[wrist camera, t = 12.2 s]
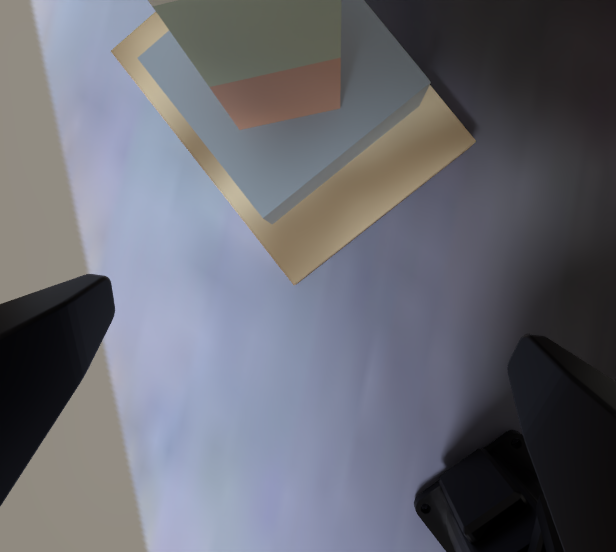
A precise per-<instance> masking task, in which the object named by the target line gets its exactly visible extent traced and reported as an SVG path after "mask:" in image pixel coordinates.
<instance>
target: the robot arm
mask: <svg viewBox="0 0 616 552" xmlns="http://www.w3.org/2000/svg"><path fill="white" fill-rule="evenodd" d="M114 313H115V305H114V298H113V292H112V285H111V281H110V279H109V278H108V277H107V276H102V275H94V274H86V275H83V276H80V277H77V278H75V279H72V280H69V281H66V282H63V283H60V284H57V285H54V286H51V287H48V288H46V289H43V290H40V291H37V292H34V293H31V294H28V295H25V296H23V297H20V298H17V299H14V300H11V301H8V302H5V303H3V304H0V506H1V505H2V503H3V501H4V500H5V498H6V497H7V495H8V494H9V492H10V491H11V489H12V487H13V486H14V485H15V483H16V481H17V480H18V478H19V477H20V475H21V474H22V472H23V470H24V469H25V468H26V466H27V464H28V463H29V461H30V460H31V458H32V456H33V455H34V454H35V452H36V450H37V449H38V447H39V446H40V444H41V443H42V441H43V439H44V438H45V437H46V435H47V433H48V432H49V430H50V429H51V427H52V426H53V424H54V423H55V421H56V420H57V418H58V416H59V415H60V413H61V412H62V410H63V409H64V407H65V406H66V404H67V402H68V401H69V399H70V398H71V396H72V395H73V393H74V392H75V390H76V389H77V387H78V385H79V384H80V382H81V381H82V379H83V377H84V375H85V374H86V372H87V370H88V368H89V366H90V364H91V362H92V360H93V358H94V356H95V354H96V352H97V350H98V348H99V346H100V344H101V342H102V340H103V338H104V336H105V334H106V332H107V330H108V328H109V326H110V324H111V322H112V320H113V317H114ZM508 376H509V380H510V384H511V388H512V393H513V397H514V401H515V405H516V409H517V413H518V418H519V422H520V426H521V429H522V433H523V435H522V434H521V433H519V432H518V431H515V430H510V431H508V432H506V433H504V434H503V435H502V436H500V437H499V438H497V439H496V440H495V441H493V442H492V443H491V444H489V445H488V446H486V447H485V448H484V449H477V450H476V451H475V452H473V453H472V454H471V455H469V456H468V457H466V458H465V459H464V460H462V461H461V462H459V463H458V464H457V465H455V466H454V467H453V468H451V469H450V470H448V471H447V472H446V473H444V474H443V475H441V476H440V480H439V481H438V482H436V483H435V484H434V485H432V486H431V487H430V488H428V489H427V490H425V491H424V492H423V493H421V494H420V495H418V496H417V497H416V498H415V501H414V507H415V510H416V512H417V514H418V516H419V517H420V518H421V519H422V521H423V522H424V523H425V525H426V526H427V527H428V529H429V530H430V531H431V532H432V534H433V535H434V536H435V538H436V539H437V540H438V541H439V543H440V544H441V545H442V547H443V548H444V549H445V550H446V552H616V382H615V381H613V380H612V379H610V378H609V377H607V376H606V375H604V374H603V373H601V372H599V371H598V370H596V369H595V368H593V367H592V366H590V365H589V364H587V363H585V362H584V361H582V360H581V359H579V358H578V357H576V356H575V355H573V354H572V353H570V352H568V351H567V350H565V349H564V348H562V347H561V346H559V345H558V344H556V343H554V342H553V341H551V340H550V339H548V338H547V337H544V336H538V335H530V334H527V335H524V336H523V337H522V338H521V339H520V341H519V343H518V345H517V347H516V349H515V351H514V352H513V354H512V356H511V358H510V360H509V363H508ZM515 438H518V443H517V444H515V445H511V441H512V440H513V439H515ZM422 504H428V505H429V506H428V508H426V509H422V508H421V506H422Z"/></svg>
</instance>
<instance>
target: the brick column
mask: <svg viewBox="0 0 616 552" xmlns="http://www.w3.org/2000/svg"><path fill="white" fill-rule="evenodd" d="M148 1H149V2H150V4H151V5H152V7H153V8H154V9H155V11H156V12H157V14H158V15H159V16H160V18H161V19H162V21H163V22H164V24H165V25H166V26H167V28H168V29H169V31H170V32H171V33H172V35H173V36H174V38H175V39H176V41H177V42H178V43H179V45H180V46H181V48H182V49H183V51H184V52H185V53H186V55H187V56H188V58H189V59H190V60H191V62H192V63H193V65H194V66H195V68H196V69H197V70H198V72H199V73H200V75H201V76H202V77H203V79H204V80H205V82H206V83H207V85H208V86H209V87H210V89H211V90H212V92H213V93H214V94H215V96H216V97H217V99H218V100H219V102H220V103H221V104H222V106H223V107H224V109H225V110H226V112H227V113H228V114H229V116H230V117H231V119H232V120H233V121H234V123H235V124H236V126H237V127H238V129H239V130H242V129H247V128H252V127H256V126H261V125H266V124H270V123H275V122H280V121H284V120H289V119H294V118H298V117H303V116H308V115H312V114H317V113H322V112H326V111H331V110H336V109H340V91H341V0H148Z"/></svg>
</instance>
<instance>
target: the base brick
mask: <svg viewBox="0 0 616 552" xmlns="http://www.w3.org/2000/svg"><path fill="white" fill-rule="evenodd" d="M138 60H139V61H140V62H141V64H142V65H143V66H144V67H145V69H146V70H147V71H148V73H149V74H150V75H151V76H152V78H153V79H154V80H155V81H156V83H157V84H158V85H159V87H160V88H161V89H162V90H163V92H164V93H165V94H166V95H167V97H168V98H169V99H170V101H171V102H172V103H173V104H174V106H175V107H176V108H177V109H178V111H179V112H180V113H181V115H182V116H183V117H184V118H185V120H186V121H187V122H188V124H189V125H190V126H191V127H192V129H193V130H194V131H195V132H196V134H197V135H198V136H199V138H200V139H201V140H202V141H203V143H204V144H205V145H206V146H207V148H208V149H209V150H210V152H211V153H212V154H213V155H214V157H215V158H216V159H217V160H218V162H219V163H220V164H221V166H222V167H223V168H224V169H225V171H226V172H227V173H228V175H229V176H230V177H231V178H232V180H233V181H234V182H235V183H236V185H237V186H238V187H239V189H240V190H241V191H242V192H243V194H244V195H245V196H246V197H247V199H248V200H249V201H250V203H251V204H252V205H253V206H254V208H255V209H256V210H257V211H258V213H259V214H260V215H261V217H262V218H263V219H265V220H266V221H268V222H269V223H270V224H274V223H275V222H276V221H277V220H279V219H280V218H281V217H282V216H284V215H285V214H286V213H287V212H288V211H290V210H291V209H292V208H293V207H295V206H296V205H297V204H298V203H300V202H301V201H302V200H303V199H305V198H306V197H307V196H308V195H310V194H311V193H312V192H313V191H315V190H316V189H317V188H318V187H319V186H321V185H322V184H323V183H324V182H326V181H327V180H328V179H329V178H331V177H332V176H333V175H334V174H336V173H337V172H338V171H339V170H341V169H342V168H343V167H344V166H346V165H347V164H348V163H349V162H350V161H352V160H353V159H354V158H355V157H357V156H358V155H359V154H360V153H362V152H363V151H364V150H365V149H367V148H368V147H369V146H370V145H372V144H373V143H374V142H375V141H377V140H378V139H379V138H380V137H381V136H383V135H384V134H385V133H386V132H388V131H389V130H390V129H391V128H393V127H394V126H395V125H396V124H398V123H399V122H400V121H401V120H403V119H404V118H405V117H406V116H408V115H409V114H410V113H411V112H412V111H414V110H415V109H416V108H417V107H419V106H420V103H421V101H422V99H423V97H424V95H425V93H426V91H427V89H428V87H429V85H430V83H431V81H430V80H429V79H428V78H427V77H426V75H425V74H424V73H423V72H422V70H421V69H420V68H419V67H418V65H417V64H416V63H415V62H414V61H413V59H412V58H411V57H410V56H409V54H408V53H407V52H406V51H405V50H404V48H403V47H402V46H401V45H400V43H399V42H398V41H397V40H396V39H395V37H394V36H393V35H392V34H391V32H390V31H389V30H388V29H387V28H386V26H385V25H384V24H383V23H382V21H381V20H380V19H379V18H378V17H377V15H376V14H375V13H374V12H373V10H372V9H371V8H370V7H369V6H368V4H367V3H366V2H365V1H364V0H341V91H340V109H336V110H331V111H326V112H322V113H317V114H312V115H308V116H303V117H298V118H294V119H289V120H284V121H280V122H275V123H270V124H266V125H261V126H256V127H252V128H247V129H242V130H239V129H238V127H237V126H236V124H235V123H234V121H233V120H232V119H231V117H230V116H229V114H228V113H227V112H226V110H225V109H224V107H223V106H222V104H221V103H220V102H219V100H218V99H217V97H216V96H215V94H214V93H213V92H212V90H211V89H210V87H209V86H208V85H207V83H206V82H205V80H204V79H203V77H202V76H201V75H200V73H199V72H198V70H197V69H196V68H195V66H194V65H193V63H192V62H191V60H190V59H189V58H188V56H187V55H186V53H185V52H184V51H183V49H182V48H181V46H180V45H179V43H178V42H177V41H176V39H175V38H174V36H173V35H172V33H171V32H170V31H168V32H167V33H166V34H164V35H163V36H162V37H161V38H160V39H159V40H157V41H156V42H155V43H154V44H153V45H152V46H151V47H149V48H148V49H147V50H146V51H145V52H144V53H143V54H141V55H140V56H139V57H138Z"/></svg>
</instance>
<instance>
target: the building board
mask: <svg viewBox="0 0 616 552" xmlns="http://www.w3.org/2000/svg"><path fill="white" fill-rule="evenodd" d="M168 31H169V29H168V28H167V26H166V25H165V24H164V22H163V21H162V19H161V18H160V16H159V15H158V14H157V12H155V13H154V14H152V15H151V16H150V17H149V18H148V19H147V20H146V21H144V22H143V23H142V24H141V25H140V26H139V27H138V28H136V29H135V30H134V31H133V32H132V33H131V34H130V35H128V36H127V37H126V38H125V39H124V40H123V41H122V42H120V43H119V44H118V45H117V46H116V47H115V48H114V49H113V50H111V52H112V53H113V55H114V56H115V57H116V58H117V60H118V61H119V62H120V64H121V65H122V66H123V67H124V69H125V70H126V71H127V73H128V74H129V75H130V76H131V78H132V79H133V80H134V81H135V83H136V84H137V85H138V87H139V88H140V89H141V90H142V92H143V93H144V94H145V96H146V97H147V98H148V99H149V101H150V102H151V103H152V105H153V106H154V107H155V108H156V110H157V111H158V112H159V113H160V115H161V116H162V117H163V119H164V120H165V121H166V122H167V124H168V125H169V126H170V128H171V129H172V130H173V131H174V133H175V134H176V135H177V136H178V138H179V139H180V140H181V142H182V143H183V144H184V145H185V147H186V148H187V149H188V151H189V152H190V153H191V154H192V156H193V157H194V158H195V160H196V161H197V162H198V163H199V165H200V166H201V167H202V168H203V170H204V171H205V172H206V174H207V175H208V176H209V177H210V179H211V180H212V181H213V183H214V184H215V185H216V186H217V188H218V189H219V190H220V191H221V193H222V194H223V195H224V197H225V198H226V199H227V200H228V202H229V203H230V204H231V206H232V207H233V208H234V209H235V211H236V212H237V213H238V215H239V216H240V217H241V218H242V220H243V221H244V222H245V223H246V225H247V226H248V227H249V229H250V230H251V231H252V232H253V234H254V235H255V236H256V238H257V239H258V240H259V241H260V243H261V244H262V245H263V246H264V248H265V249H266V250H267V252H268V253H269V254H270V255H271V257H272V258H273V259H274V261H275V262H276V263H277V264H278V266H279V267H280V268H281V270H282V271H283V272H284V273H285V275H286V276H287V277H288V278H289V280H290V281H291V282H292V284H293V285H296V284H298V283H299V282H300V281H301V280H303V279H304V278H305V277H306V276H308V275H309V274H310V273H312V272H313V271H314V270H315V269H317V268H318V267H319V266H320V265H322V264H323V263H324V262H326V261H327V260H328V259H329V258H331V257H332V256H333V255H334V254H336V253H337V252H338V251H339V250H341V249H342V248H343V247H345V246H346V245H347V244H348V243H350V242H351V241H352V240H353V239H355V238H356V237H357V236H358V235H360V234H361V233H362V232H364V231H365V230H366V229H367V228H369V227H370V226H371V225H372V224H374V223H375V222H376V221H378V220H379V219H380V218H381V217H383V216H384V215H385V214H386V213H388V212H389V211H390V210H391V209H393V208H394V207H395V206H397V205H398V204H399V203H400V202H402V201H403V200H404V199H405V198H407V197H408V196H409V195H410V194H412V193H413V192H414V191H416V190H417V189H418V188H419V187H421V186H422V185H423V184H424V183H426V182H427V181H428V180H429V179H431V178H432V177H433V176H435V175H436V174H437V173H438V172H440V171H441V170H442V169H443V168H445V167H446V166H447V165H449V164H450V163H451V162H452V161H454V160H455V159H456V158H457V157H459V156H460V155H461V154H462V153H464V152H465V151H466V150H468V149H469V148H470V147H471V146H472V145H473V144H474V143H475V142H476V140H475V139H474V138H473V137H472V136H471V134H470V133H469V132H468V131H467V129H466V128H465V127H464V126H463V125H462V123H461V122H460V121H459V120H458V118H457V117H456V116H455V115H454V114H453V112H452V111H451V110H450V109H449V107H448V106H447V105H446V104H445V103H444V101H443V100H442V99H441V98H440V96H439V95H438V94H437V93H436V92H435V90H434V89H433V88H432V87H431V85H429V87H428V89H427V91H426V93H425V95H424V97H423V99H422V101H421V103H420V106H419V107H417V108H416V109H415V110H414V111H412V112H411V113H410V114H409V115H408V116H406V117H405V118H404V119H403V120H401V121H400V122H399V123H398V124H396V125H395V126H394V127H393V128H391V129H390V130H389V131H388V132H386V133H385V134H384V135H383V136H381V137H380V138H379V139H378V140H377V141H375V142H374V143H373V144H372V145H370V146H369V147H368V148H367V149H365V150H364V151H363V152H362V153H360V154H359V155H358V156H357V157H355V158H354V159H353V160H352V161H350V162H349V163H348V164H347V165H346V166H344V167H343V168H342V169H341V170H339V171H338V172H337V173H336V174H334V175H333V176H332V177H331V178H329V179H328V180H327V181H326V182H324V183H323V184H322V185H321V186H319V187H318V188H317V189H316V190H315V191H313V192H312V193H311V194H310V195H308V196H307V197H306V198H305V199H303V200H302V201H301V202H300V203H298V204H297V205H296V206H295V207H293V208H292V209H291V210H290V211H288V212H287V213H286V214H285V215H284V216H282V217H281V218H280V219H279V220H277V221H276V222H275V223H274V224H270V223H269V222H268V221H266V220H265V219H263V218H262V217H261V215H260V214H259V213H258V211H257V210H256V209H255V208H254V206H253V205H252V204H251V203H250V201H249V200H248V199H247V197H246V196H245V195H244V194H243V192H242V191H241V190H240V189H239V187H238V186H237V185H236V183H235V182H234V181H233V180H232V178H231V177H230V176H229V175H228V173H227V172H226V171H225V169H224V168H223V167H222V166H221V164H220V163H219V162H218V160H217V159H216V158H215V157H214V155H213V154H212V153H211V152H210V150H209V149H208V148H207V146H206V145H205V144H204V143H203V141H202V140H201V139H200V138H199V136H198V135H197V134H196V132H195V131H194V130H193V129H192V127H191V126H190V125H189V124H188V122H187V121H186V120H185V118H184V117H183V116H182V115H181V113H180V112H179V111H178V109H177V108H176V107H175V106H174V104H173V103H172V102H171V101H170V99H169V98H168V97H167V95H166V94H165V93H164V92H163V90H162V89H161V88H160V87H159V85H158V84H157V83H156V81H155V80H154V79H153V78H152V76H151V75H150V74H149V73H148V71H147V70H146V69H145V67H144V66H143V65H142V64H141V62H140V61H139V60H138V57H139V56H140V55H141V54H143V53H144V52H145V51H146V50H147V49H148V48H149V47H151V46H152V45H153V44H154V43H155V42H156V41H157V40H159V39H160V38H161V37H162V36H163V35H164V34H166V33H167V32H168Z"/></svg>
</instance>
